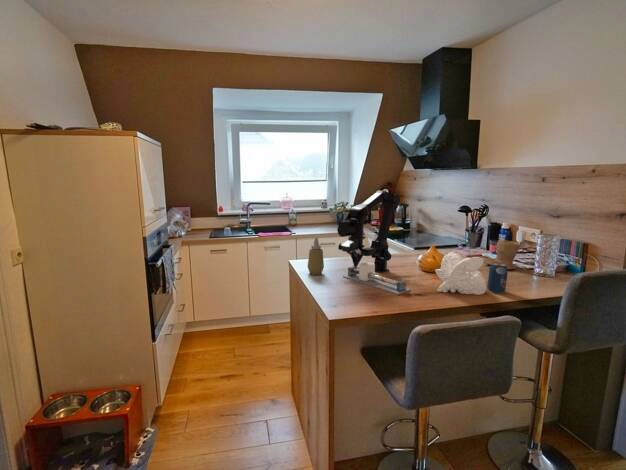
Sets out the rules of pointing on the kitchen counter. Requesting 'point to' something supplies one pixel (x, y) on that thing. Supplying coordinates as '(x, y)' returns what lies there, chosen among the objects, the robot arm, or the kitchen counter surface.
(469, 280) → the white sculpture
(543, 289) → the kitchen counter surface
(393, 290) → the base board
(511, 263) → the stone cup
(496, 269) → the soda can
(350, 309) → the kitchen counter surface
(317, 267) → the squeeze bottle
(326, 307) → the kitchen counter surface
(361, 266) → the collar
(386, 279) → the rail
